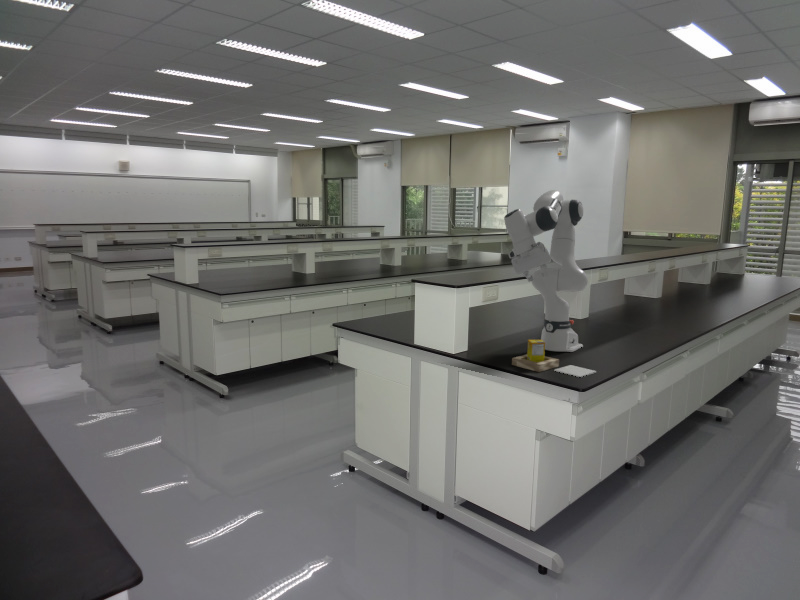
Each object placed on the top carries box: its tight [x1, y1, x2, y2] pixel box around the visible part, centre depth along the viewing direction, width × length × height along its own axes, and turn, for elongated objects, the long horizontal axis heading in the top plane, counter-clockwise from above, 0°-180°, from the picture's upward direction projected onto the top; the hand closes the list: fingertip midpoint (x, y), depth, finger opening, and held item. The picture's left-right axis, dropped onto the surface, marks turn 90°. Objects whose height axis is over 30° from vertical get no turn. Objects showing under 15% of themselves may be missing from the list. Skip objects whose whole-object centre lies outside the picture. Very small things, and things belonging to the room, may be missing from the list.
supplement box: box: [526, 339, 546, 363], centre depth 227 cm, size 6×6×11 cm
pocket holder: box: [511, 353, 560, 373], centre depth 228 cm, size 14×14×3 cm
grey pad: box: [553, 364, 597, 378], centre depth 219 cm, size 12×12×1 cm
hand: (538, 278), depth 220 cm, fingers open, 8 cm apart
